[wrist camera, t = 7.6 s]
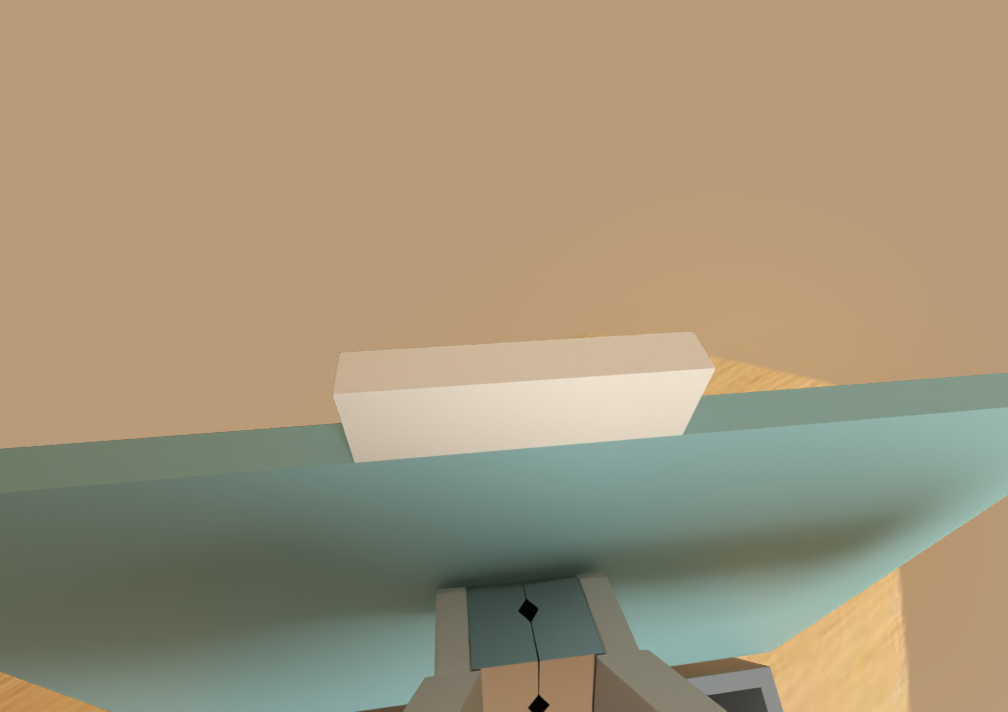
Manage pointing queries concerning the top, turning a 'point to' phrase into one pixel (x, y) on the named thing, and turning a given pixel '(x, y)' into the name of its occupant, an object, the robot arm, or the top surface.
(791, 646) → the top surface
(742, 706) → the box
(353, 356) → the mailer lid
